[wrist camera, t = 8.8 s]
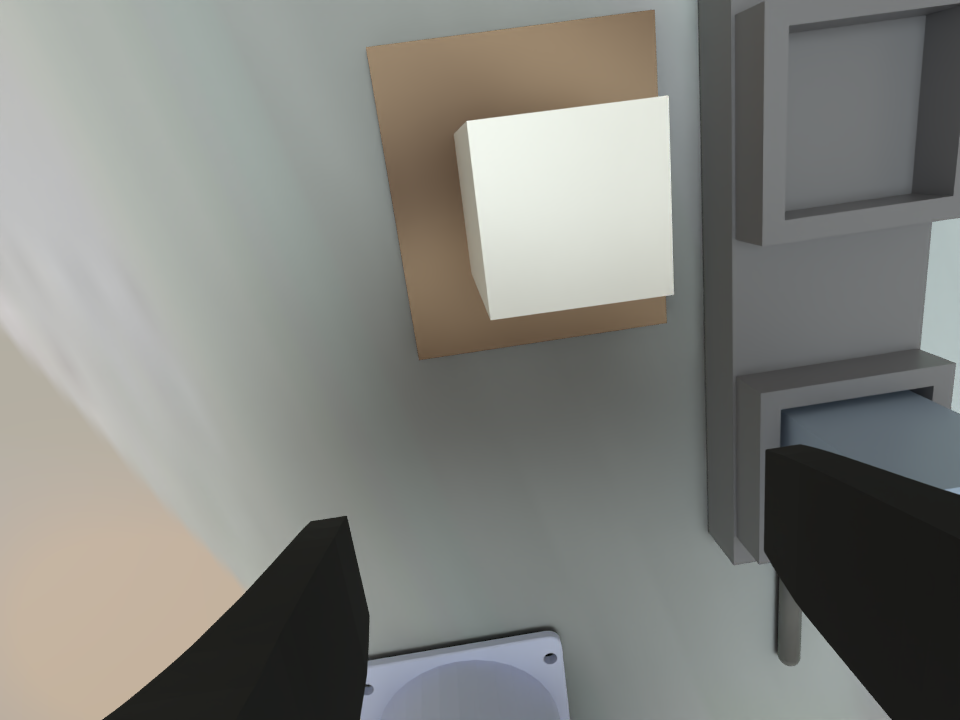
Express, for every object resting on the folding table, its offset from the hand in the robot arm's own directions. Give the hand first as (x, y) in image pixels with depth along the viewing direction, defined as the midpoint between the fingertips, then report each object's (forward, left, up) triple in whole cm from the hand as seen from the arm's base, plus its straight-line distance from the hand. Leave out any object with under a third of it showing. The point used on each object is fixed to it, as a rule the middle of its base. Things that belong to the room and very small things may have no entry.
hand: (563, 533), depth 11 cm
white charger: (+5, -1, -10) cm, 11 cm away
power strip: (-2, -10, -10) cm, 15 cm away
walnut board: (+5, -1, -10) cm, 12 cm away
